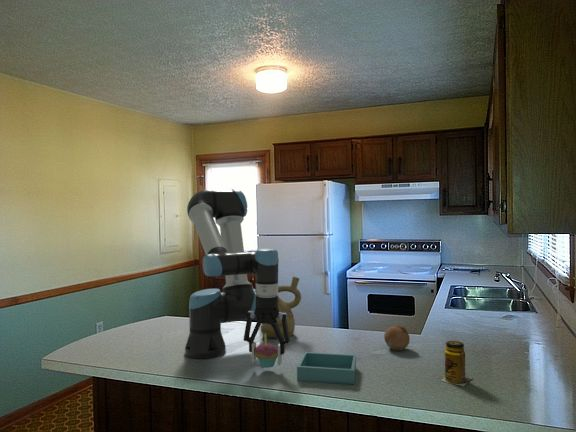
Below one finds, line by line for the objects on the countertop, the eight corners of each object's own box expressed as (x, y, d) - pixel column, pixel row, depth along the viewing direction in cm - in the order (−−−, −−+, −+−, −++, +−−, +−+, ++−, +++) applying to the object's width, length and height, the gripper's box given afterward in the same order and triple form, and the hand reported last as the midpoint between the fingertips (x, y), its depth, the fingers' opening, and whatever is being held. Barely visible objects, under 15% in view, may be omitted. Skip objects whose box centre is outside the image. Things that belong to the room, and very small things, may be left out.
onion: (406, 356, 174) (418, 334, 173) (394, 355, 167) (407, 332, 166) (387, 342, 180) (399, 320, 179) (375, 341, 174) (387, 318, 173)
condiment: (439, 381, 141) (439, 343, 141) (449, 373, 148) (449, 337, 148) (463, 387, 137) (463, 347, 137) (472, 378, 143) (472, 341, 143)
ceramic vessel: (257, 329, 203) (257, 274, 202) (301, 329, 202) (301, 274, 202) (253, 340, 186) (253, 280, 185) (301, 340, 185) (300, 280, 185)
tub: (297, 380, 142) (297, 366, 142) (304, 365, 156) (304, 352, 156) (353, 384, 139) (353, 370, 139) (356, 368, 153) (356, 355, 153)
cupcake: (276, 371, 146) (276, 334, 146) (250, 368, 148) (250, 332, 147) (281, 361, 155) (282, 326, 154) (257, 359, 156) (257, 325, 156)
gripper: (233, 296, 149) (233, 364, 150) (295, 299, 144) (295, 369, 145) (240, 291, 156) (240, 356, 157) (299, 294, 152) (299, 361, 153)
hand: (266, 362), depth 151 cm, fingers closed on cupcake, 8 cm apart
